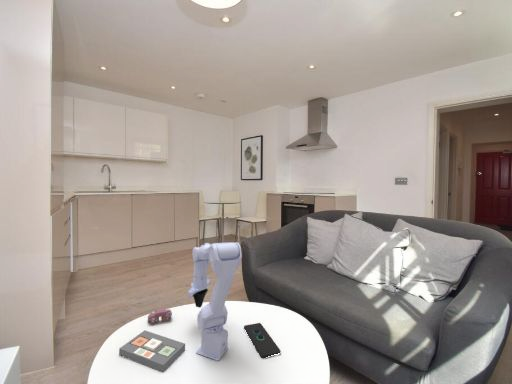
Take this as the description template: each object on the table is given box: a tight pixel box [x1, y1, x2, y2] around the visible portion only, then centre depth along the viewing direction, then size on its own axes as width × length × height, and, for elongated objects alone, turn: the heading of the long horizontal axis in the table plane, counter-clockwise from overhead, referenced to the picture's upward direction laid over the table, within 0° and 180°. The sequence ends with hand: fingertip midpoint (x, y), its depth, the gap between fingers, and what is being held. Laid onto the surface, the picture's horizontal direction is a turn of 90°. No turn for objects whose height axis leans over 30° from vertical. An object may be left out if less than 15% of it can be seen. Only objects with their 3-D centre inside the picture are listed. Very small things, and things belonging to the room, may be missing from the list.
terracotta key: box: [131, 337, 149, 347], centre depth 97 cm, size 4×4×2 cm
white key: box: [144, 338, 162, 352], centre depth 95 cm, size 4×4×2 cm
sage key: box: [157, 346, 176, 357], centre depth 93 cm, size 4×4×2 cm
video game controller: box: [147, 308, 173, 324], centre depth 114 cm, size 10×5×7 cm
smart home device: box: [243, 322, 281, 359], centre depth 106 cm, size 8×2×20 cm
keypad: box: [118, 330, 186, 373], centre depth 95 cm, size 19×12×3 cm, turn 70°
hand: (198, 306), depth 111 cm, fingers closed
